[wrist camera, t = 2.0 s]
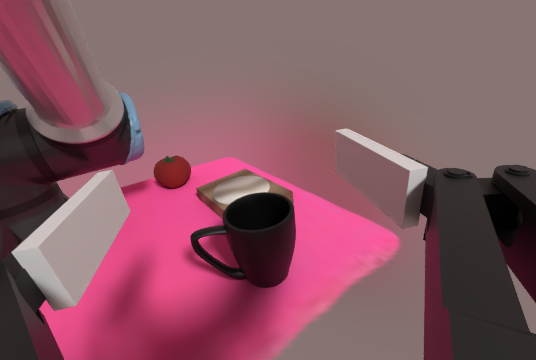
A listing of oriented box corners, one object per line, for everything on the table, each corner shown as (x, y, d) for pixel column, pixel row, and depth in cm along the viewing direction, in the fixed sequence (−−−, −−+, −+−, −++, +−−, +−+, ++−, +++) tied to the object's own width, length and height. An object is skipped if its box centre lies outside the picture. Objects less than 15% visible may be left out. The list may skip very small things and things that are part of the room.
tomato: (179, 193, 56) (170, 163, 53) (151, 191, 59) (141, 162, 55) (199, 177, 62) (192, 150, 59) (173, 175, 65) (165, 149, 62)
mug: (204, 267, 35) (186, 209, 31) (285, 242, 37) (279, 185, 33) (210, 319, 28) (188, 253, 23) (310, 284, 30) (306, 218, 26)
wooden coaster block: (199, 198, 53) (195, 186, 51) (246, 178, 59) (245, 167, 57) (238, 232, 41) (235, 218, 39) (293, 203, 47) (292, 190, 45)
